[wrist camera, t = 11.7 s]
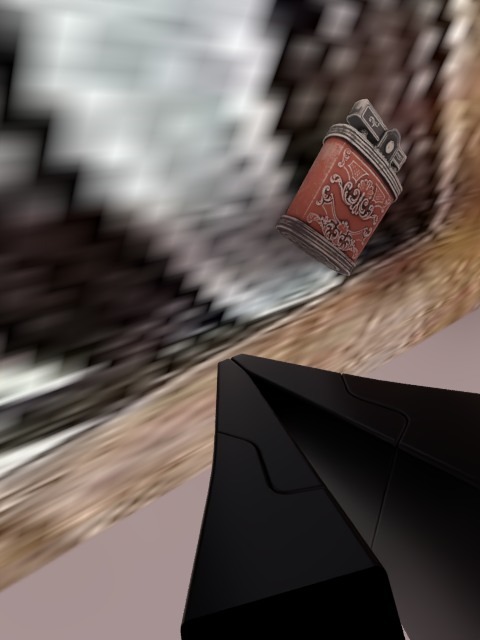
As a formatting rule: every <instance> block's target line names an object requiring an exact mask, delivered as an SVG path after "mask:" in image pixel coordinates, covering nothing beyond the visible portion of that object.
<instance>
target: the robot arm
mask: <svg viewBox="0 0 480 640" xmlns="http://www.w3.org/2000/svg"><path fill="white" fill-rule="evenodd" d="M401 624H402V625H403V628H404V630H405V631H406V633H407V635H408V637H409V639H410V640H480V394H478V393H470V392H462V391H455V390H447V389H440V388H432V387H424V386H417V385H410V384H402V383H395V382H389V381H382V380H376V379H370V378H365V377H360V376H354V375H349V374H344V373H343V374H342V375H341V374H340V373H337V372H332V371H327V370H322V369H317V368H312V367H307V366H302V365H297V364H292V363H287V362H282V361H277V360H272V359H267V358H262V357H257V356H252V355H247V354H239V355H237V356H234V357H232V358H231V359H226V360H224V361H221V362H219V363H218V373H217V396H216V419H215V435H214V452H213V463H212V471H211V477H210V483H209V489H208V495H207V499H206V505H205V510H204V514H203V519H202V524H201V529H200V534H199V540H198V545H197V549H196V554H195V559H194V564H193V570H192V574H191V579H190V584H189V589H188V594H187V599H186V604H185V609H184V614H183V619H182V624H181V639H182V640H405V637H404V633H403V629H402V626H401Z"/></svg>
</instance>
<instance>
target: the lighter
mask: <svg viewBox="0 0 480 640" xmlns="http://www.w3.org/2000/svg"><path fill="white" fill-rule="evenodd" d="M347 122H348V123H349V125H350V126H349V125H347V124H335V125H333V126H332V127H330V129H329V131H328V132H327V134H326V136H325V138H324V140H323V147H322V149H321V150H320V152H319V154H318V156H317V158H316V159H315V161H314V163H313V165H312V167H311V169H310V170H309V172H308V174H307V176H306V178H305V179H304V181H303V183H302V185H301V187H300V189H299V190H298V192H297V194H296V196H295V198H294V199H293V201H292V203H291V205H290V207H289V209H288V210H287V212H286V214H285V215H282V216H281V218H280V220H279V222H278V224H277V225H276V229H277V230H278V231H279V232H280V233H281V234H283V235H284V236H285V237H286V238H288V239H289V240H290V241H291V242H293V243H294V244H295V245H297V246H298V247H299V248H301V249H302V250H303V251H305V252H306V253H308V254H309V255H311V256H312V257H314V258H315V259H317V260H318V261H320V262H321V263H323V264H324V265H326V266H327V267H329V268H331V269H332V270H334V271H336V272H339V273H341V274H344V275H350V274H351V272H352V271H353V269H354V267H355V266H356V265H355V264H354V263H355V261H356V260H357V258H358V257H359V255H360V253H361V252H362V250H363V248H364V247H365V245H366V244H367V242H368V240H369V239H370V237H371V236H372V234H373V232H374V231H375V229H376V227H377V226H378V224H379V223H380V221H381V219H382V218H383V216H384V215H385V213H386V211H387V210H388V208H389V206H390V205H391V203H393V202H395V201H396V200H397V198H398V196H399V195H400V193H401V192H402V186H401V184H400V182H399V180H398V178H397V176H396V174H395V173H396V172H398V171H399V170H400V168H401V167H402V165H403V163H404V162H405V160H406V155H405V154H404V152H403V151H402V150H401V148H400V138H401V137H400V133H399V131H398V130H397V129H391V130H387V128H386V127H385V125H384V124H383V120H382V119H381V118H380V116H379V115H378V113H377V112H376V110H375V109H374V108H373V106H372V105H371V103H370V102H369V101H368V100H367V99H363V100H360V101H358V102H356V103H355V104H354V106H353V108H352V109H351V111H350V113H349V115H348V117H347Z"/></svg>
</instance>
